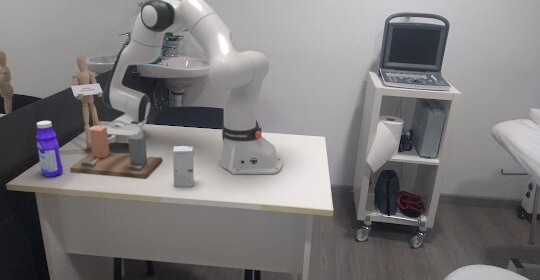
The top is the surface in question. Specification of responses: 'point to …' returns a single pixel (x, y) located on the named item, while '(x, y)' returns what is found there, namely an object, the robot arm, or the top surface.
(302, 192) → the top surface
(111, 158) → the wooden board
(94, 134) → the plug terracotta
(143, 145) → the grey tall block
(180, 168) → the skincare box
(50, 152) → the bottle
